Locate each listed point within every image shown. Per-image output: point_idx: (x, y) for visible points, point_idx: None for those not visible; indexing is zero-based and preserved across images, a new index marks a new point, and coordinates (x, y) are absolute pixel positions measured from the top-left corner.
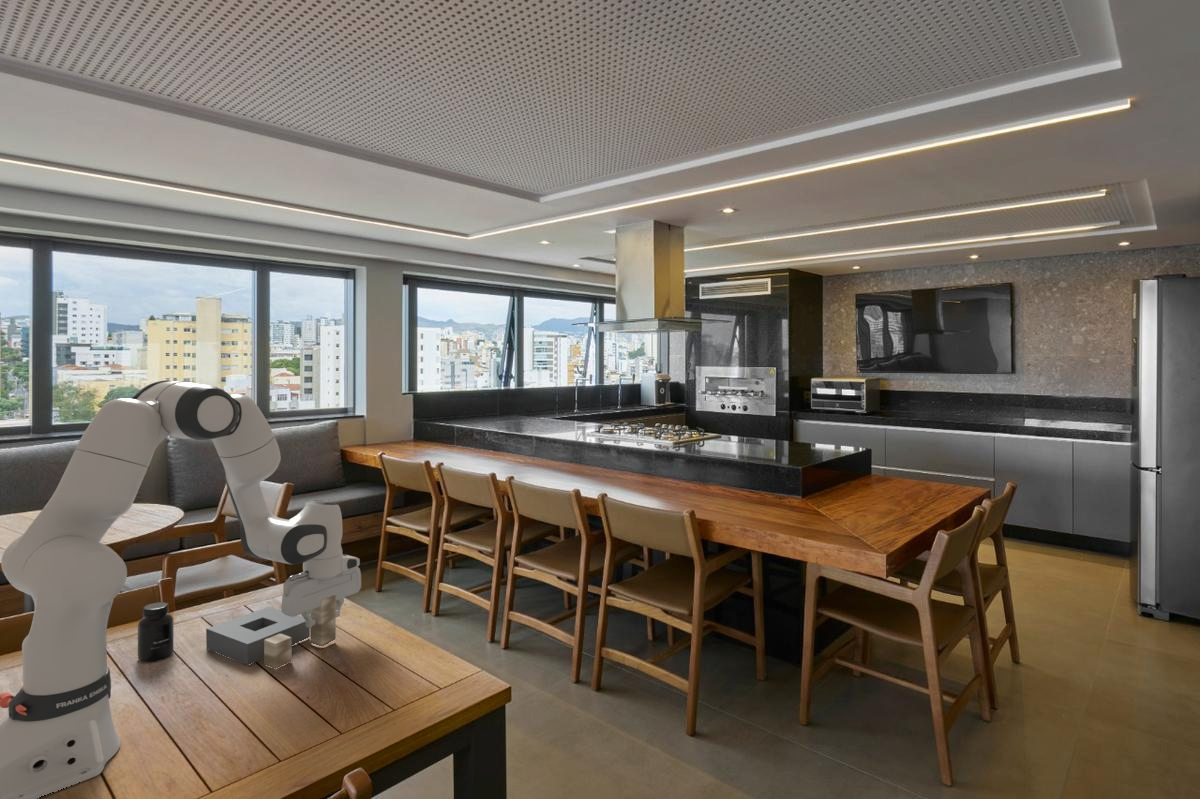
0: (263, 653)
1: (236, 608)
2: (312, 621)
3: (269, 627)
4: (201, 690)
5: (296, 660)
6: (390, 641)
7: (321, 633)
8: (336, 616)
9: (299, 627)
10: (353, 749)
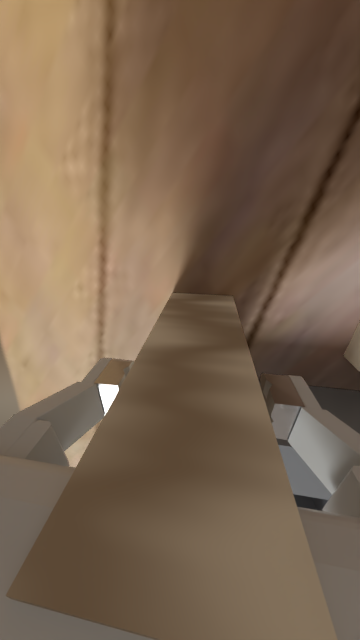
0: None
1: None
2: (298, 400)
3: (313, 490)
4: None
5: (344, 301)
6: (13, 74)
7: (240, 323)
8: (121, 360)
9: None
10: None
